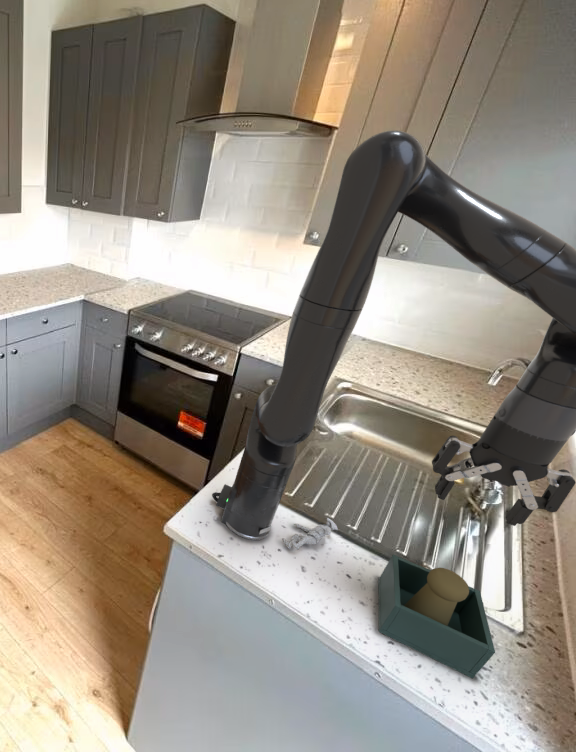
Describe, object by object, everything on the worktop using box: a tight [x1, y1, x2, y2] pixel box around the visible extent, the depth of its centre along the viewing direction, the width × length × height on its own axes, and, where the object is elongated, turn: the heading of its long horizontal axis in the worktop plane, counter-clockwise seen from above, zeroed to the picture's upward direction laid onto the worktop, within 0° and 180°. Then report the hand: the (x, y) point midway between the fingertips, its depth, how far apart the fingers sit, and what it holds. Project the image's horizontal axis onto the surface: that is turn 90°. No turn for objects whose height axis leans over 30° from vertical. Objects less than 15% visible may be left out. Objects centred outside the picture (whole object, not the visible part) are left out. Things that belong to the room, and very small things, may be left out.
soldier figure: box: [282, 517, 339, 551], centre depth 89 cm, size 8×5×12 cm
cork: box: [404, 567, 470, 626], centre depth 72 cm, size 6×6×11 cm
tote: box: [377, 554, 496, 679], centre depth 73 cm, size 13×13×7 cm
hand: (473, 508), depth 67 cm, fingers open, 8 cm apart
